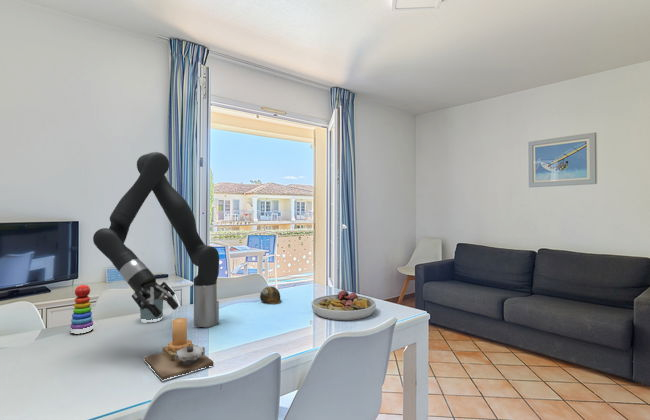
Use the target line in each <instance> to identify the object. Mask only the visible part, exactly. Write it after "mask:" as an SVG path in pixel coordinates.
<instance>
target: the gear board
mask: <svg viewBox="0 0 650 420" xmlns="http://www.w3.org/2000/svg"><path fill="white" fill-rule="evenodd" d="M167 346H168V345H166V346H163V347H161V348H162V350H161V351H162V352H159V353H155V354H150V355H147V356H144V357H143V360H144V359H145V361H146V362H147V363H148V364H149V365H150V366H151V368H152V369H153V370H154V371H155V373H156V374H157V375H158V376H159V377H160V378H161V379H162V380H164V379H167V378H170V377H174V376H178V375H182V374H186V373H189V372H191V371H195V370H198V369H201V368H205V367H209V366H213V367H214V360H212V359H211V358H210V357H208V356H207V355H205V352H206V350H205V347H204V346H199V345H194V344H193V343H192V346H188V347H183V348H182V349H180V350H177V351H175V353H173V352H172V350H167Z"/></svg>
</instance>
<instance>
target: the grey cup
mask: <svg viewBox="0 0 650 420" xmlns="http://www.w3.org/2000/svg"><path fill="white" fill-rule="evenodd" d="M162 294H163V293H162ZM162 294H161V295H162ZM153 302H154V304H155V305H156V306H157V307H158V309H159V310H160V311H161V315H160V316H159V317H155V316H154V315H153V314H152V313H151V312H150V311H149V309H143V310H142V309H141V308H140V307H139V311H140V312H139V313H140V315H139V316H140V317H139V318H140V320H141V319H146V320H151V319H152V320H153V319H158V318H161V317H162V316H164V314H163V313H164V312H163V310H164V300H163V299H162V300H160V299H154V300H153ZM141 303H142V304H143V302H142V301H141ZM154 304H153V305H154Z"/></svg>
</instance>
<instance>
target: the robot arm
mask: <svg viewBox="0 0 650 420" xmlns="http://www.w3.org/2000/svg"><path fill="white" fill-rule="evenodd" d="M136 168H137V172H138V173H139V176H138V178H137V179H136V181H135V182H134V183H133V185H132V186H131V187H130V188H129V189H128V190H127V191H126V193H124V195H123V196H122V197H121V198H120V200H119V201H118V203H117V204H116V206H115V207H114V209H113V211H112V212H111V214H110V216H109V222H110V226H109V227H108V228H107V227H105V228H104V227H103V228H99V229H98V230H96V231H95V232H94V234H93V237H92V241H93V244H94V245H95V247H96V248H97V249H98V250H99V251H100V252H101V253H102V254H103V255H104V256H105V257H106V258H107V259H108V260H109V261H110V262H111V263H112V265H113V266H114V268H115V269H116V270H117V271H118V272H119V274H120V275H121V277H122V279H124V281H125V282H126V283H127V284H128V285H129V287H130V289H132V290H133V293H132V295H131V298H132V299H133V301H134V302H135V303H136V304H137V306H138V307H139V309H140V308H141V309H142V310H143V309H149V311H150V312H151V313H152V314H153V315H154V316H155V317H159V316H160V315H161V311H160V310H159V309H158V307H157V306H156V305H155V304H154V302H153V300H154V299H160V300H162V299H163V301H165V302H166V303H167V305H168V306H169V307H170V308H171V309H172V310H176V309H177V308H178V307H179V304H178V302H177V301H176V300H175V298H174V296H175V295H176V293H175V291H173V290H174V289H172V288H171V287H170V286H169V285H168V284H167V283H166V281H163V282H162V283H160V284H159V283H158V282H157V281H156V280H157V277H156V276H155V275H154V273H153V272H152V271H151V270H150V269H149V268H148V267H147V265H146V264H145V263H144V262H143V261H142V260H140V258H139V257H138V255H136V254H135V252H133V250H131V249H130V248H129V247H128V246H127V245H126V244H125V242H126V240H127V236H128V234H129V231H130V226H131V225H132V223H133V221H135V218H136V217H137V215H138V213H139V211H140V210H141V207H142V206H143V204H144V203H145V201H146V200H147V198H148V196H149V195H150V193H151V192H152V193H153V195H154V197H155V198H156V200H157V201H158V204H159V205H160V206H161V208H162V210H163V212H164V214H165V216H166V217H167V219H168V221H169V223H170V224H171V226H172V227H173V229H174V231H175V232H176V234H177V235H178V238H179V239H180V240H181V242H182V244H183V246H184V248H185V250H186V253H187V255H188V257H189V259H190V262H191V263H192V264H193V265H195V266H196V267H197V275H196V276H194V278H193V327H194V326H196V327H195V328H197V327H208V328H212V327H215V326H216V325H219V324H220V320H219V319H220V316H219V315H220V307H219V305H220V304H219V300H218V299H217V298H218V297H217V296H218V293H217V292H218V290H217V289H218V287H217V286H218V285H217V284H218V283H217V282H218V278H219V274H220V254H219V251H218V249H217V248H216V247H214V246H211V245H206V244H205V243H204V241H203V240H202V238H201V236H200V235H199V233H198V229H197V222H196V218H195V215H194V212H193V211H192V209H191V207H190V205H189V204H188V201H187V200H186V199H185V198H184V197H183V195H181V194H180V193H179V192H178V191H177V190H176V189H175V188H174V187H173V186H172V185H171V183H170V181H168V178H167V177H166V174H167V172H169V169H170V161H169V159H168V157H167V156H166V155H165V154H164V153H161V152H158V151H154V152H149V153H147V154H143V155H141V156H139V157H138V158H137V161H136ZM162 293H163V294H162ZM161 294H162V295H161ZM141 301H142V302H143V304H142V303H141ZM153 304H154V305H153ZM211 326H212V327H211Z"/></svg>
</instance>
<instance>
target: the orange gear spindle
mask: <svg viewBox="0 0 650 420" xmlns="http://www.w3.org/2000/svg"><path fill="white" fill-rule="evenodd" d="M171 321H172V322H171V323H172V324H171V326H172V327H171V329H172V333H171V334H172V335H171V337H172V340H171V341H170V342H167V345H166V346H167V350H172V352H173V353H175V351H177V350H180V349H182V348H183V347H188V346H192V344H193V341H192V339H188V319H187V317H178V318H174V319H172V320H171Z"/></svg>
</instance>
